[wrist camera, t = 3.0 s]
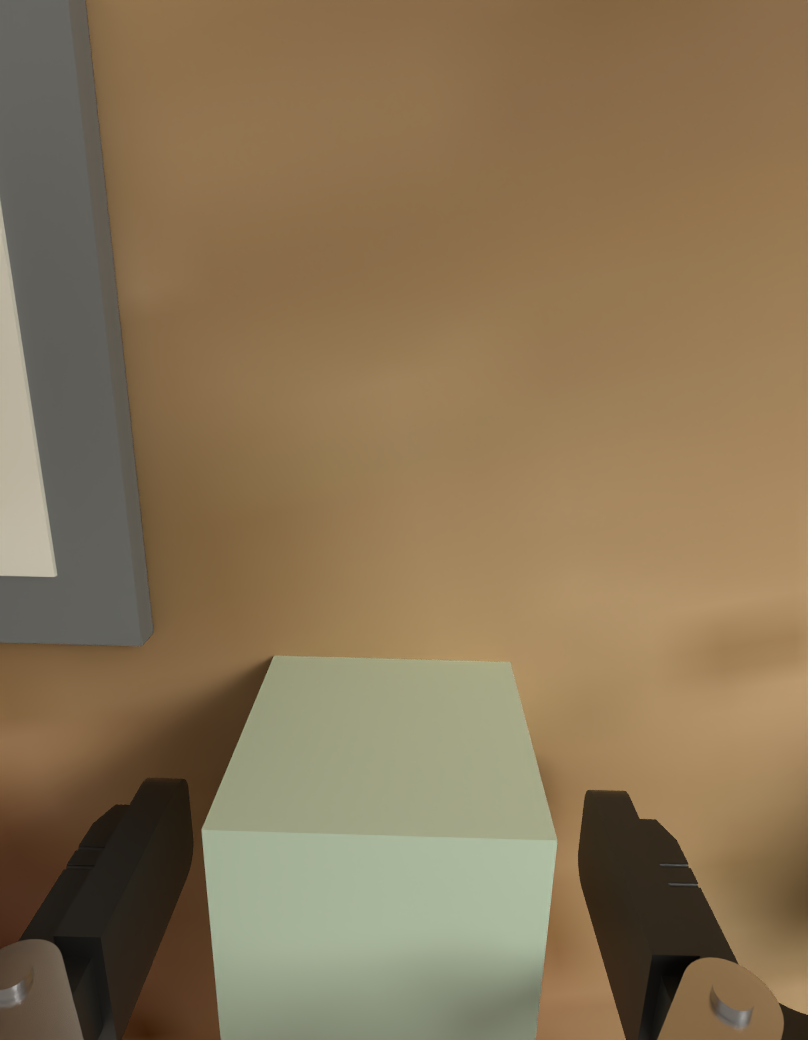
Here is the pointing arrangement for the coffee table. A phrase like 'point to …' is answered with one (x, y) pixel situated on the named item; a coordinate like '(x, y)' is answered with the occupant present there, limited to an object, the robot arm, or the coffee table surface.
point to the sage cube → (380, 856)
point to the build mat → (61, 352)
